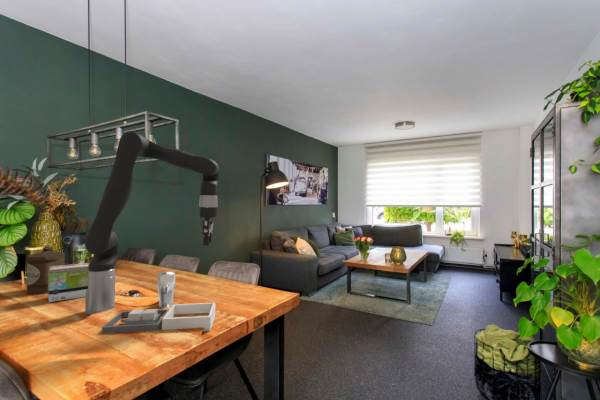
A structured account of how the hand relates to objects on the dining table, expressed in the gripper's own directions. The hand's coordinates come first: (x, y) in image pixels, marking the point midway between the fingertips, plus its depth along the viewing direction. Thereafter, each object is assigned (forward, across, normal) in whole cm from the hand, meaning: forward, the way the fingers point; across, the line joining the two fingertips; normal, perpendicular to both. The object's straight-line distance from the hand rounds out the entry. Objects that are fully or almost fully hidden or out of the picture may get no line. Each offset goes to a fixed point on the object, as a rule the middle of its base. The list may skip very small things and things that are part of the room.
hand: (207, 244), depth 126 cm
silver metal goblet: (+28, -2, -16) cm, 32 cm away
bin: (+27, +16, -3) cm, 32 cm away
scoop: (+27, +16, -20) cm, 37 cm away
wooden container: (+29, -39, -83) cm, 96 cm away
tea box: (+29, -24, -65) cm, 75 cm away
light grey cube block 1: (+26, +16, -22) cm, 38 cm away
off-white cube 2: (+26, +16, -17) cm, 35 cm away
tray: (+28, +16, -21) cm, 38 cm away
